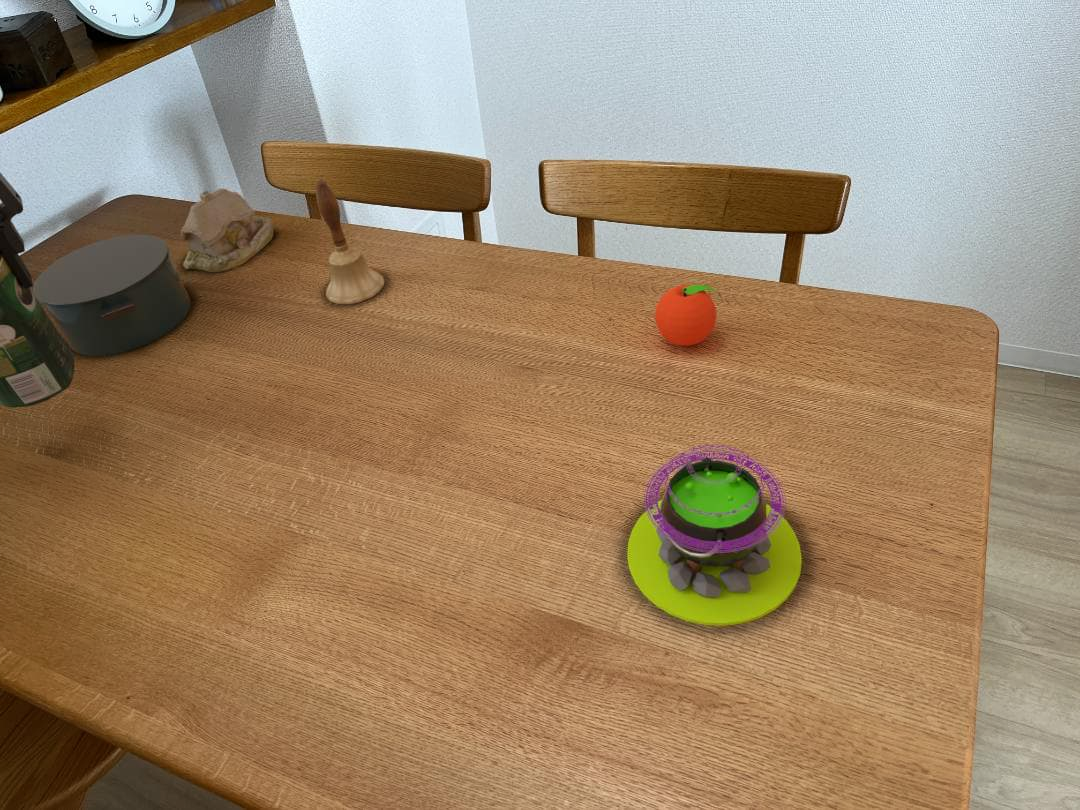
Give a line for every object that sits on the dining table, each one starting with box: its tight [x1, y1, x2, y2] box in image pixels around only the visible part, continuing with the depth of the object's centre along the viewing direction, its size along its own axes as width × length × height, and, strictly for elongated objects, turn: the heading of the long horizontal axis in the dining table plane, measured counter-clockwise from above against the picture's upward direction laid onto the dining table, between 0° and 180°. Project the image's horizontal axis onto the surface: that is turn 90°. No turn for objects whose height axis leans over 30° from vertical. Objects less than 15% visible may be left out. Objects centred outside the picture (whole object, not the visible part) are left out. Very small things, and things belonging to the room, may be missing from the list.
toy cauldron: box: [626, 444, 803, 627], centre depth 67 cm, size 15×15×11 cm
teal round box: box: [32, 234, 191, 357], centre depth 112 cm, size 18×21×9 cm
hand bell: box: [315, 179, 385, 305], centre depth 108 cm, size 8×8×16 cm
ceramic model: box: [180, 188, 274, 273], centre depth 124 cm, size 14×11×10 cm
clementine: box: [654, 284, 722, 347], centre depth 92 cm, size 8×7×7 cm
